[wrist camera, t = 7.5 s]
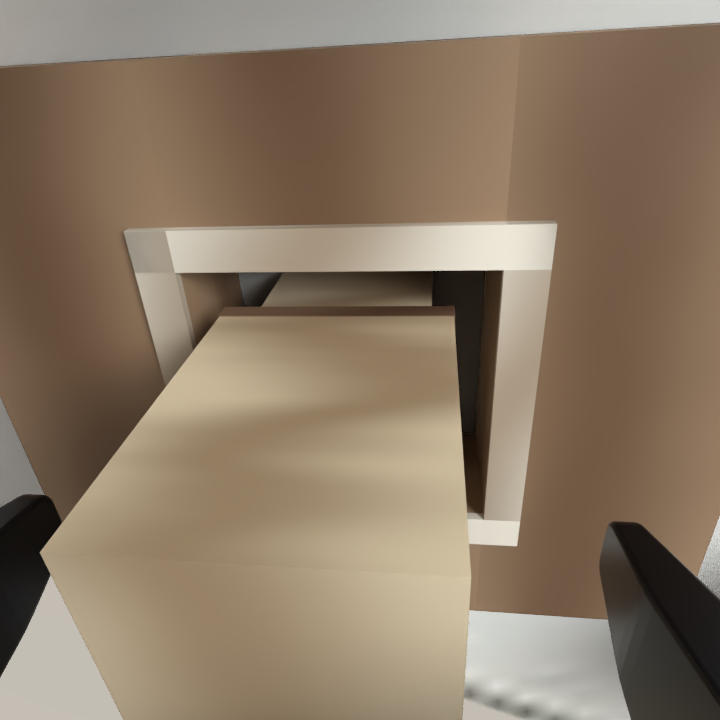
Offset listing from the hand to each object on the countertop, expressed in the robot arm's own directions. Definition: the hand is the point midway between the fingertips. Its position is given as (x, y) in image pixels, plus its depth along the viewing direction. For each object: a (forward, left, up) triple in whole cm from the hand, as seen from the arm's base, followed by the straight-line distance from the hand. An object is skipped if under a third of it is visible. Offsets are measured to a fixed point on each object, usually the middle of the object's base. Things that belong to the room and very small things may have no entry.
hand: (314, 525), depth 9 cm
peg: (0, 0, -6) cm, 6 cm away
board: (0, 0, -6) cm, 6 cm away
